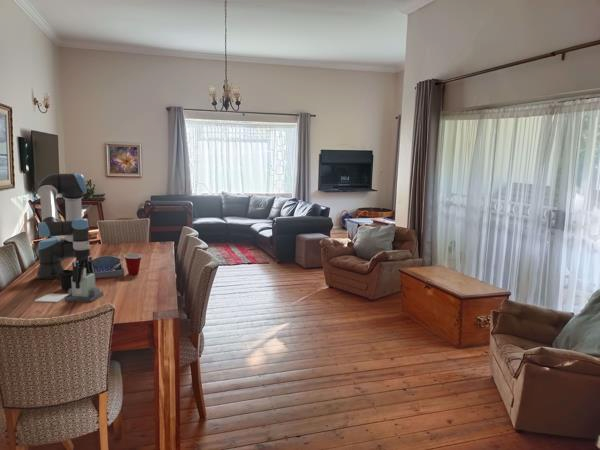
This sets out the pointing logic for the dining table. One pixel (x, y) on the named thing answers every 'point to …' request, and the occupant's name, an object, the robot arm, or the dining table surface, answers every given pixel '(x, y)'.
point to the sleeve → (85, 285)
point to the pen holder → (66, 279)
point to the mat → (51, 298)
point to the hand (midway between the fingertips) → (84, 291)
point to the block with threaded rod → (94, 295)
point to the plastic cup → (133, 263)
